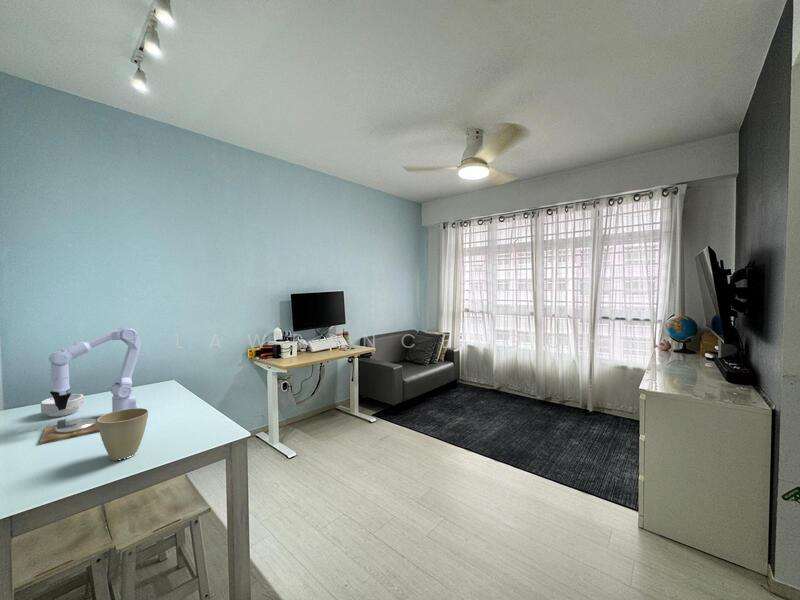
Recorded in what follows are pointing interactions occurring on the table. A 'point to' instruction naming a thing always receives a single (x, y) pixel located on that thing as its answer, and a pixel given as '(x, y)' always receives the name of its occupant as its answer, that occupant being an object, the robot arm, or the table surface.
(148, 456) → the table surface
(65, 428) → the dial
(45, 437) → the plate
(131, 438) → the plant pot
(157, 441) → the table surface
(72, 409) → the paper bowls
